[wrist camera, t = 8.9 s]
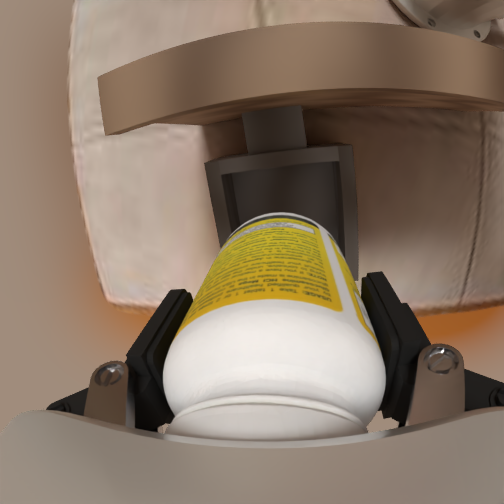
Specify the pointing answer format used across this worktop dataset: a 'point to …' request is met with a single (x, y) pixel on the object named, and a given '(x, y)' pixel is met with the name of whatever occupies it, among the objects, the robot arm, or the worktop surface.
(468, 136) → the worktop surface
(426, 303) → the worktop surface
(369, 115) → the worktop surface
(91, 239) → the worktop surface
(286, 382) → the pill bottle
